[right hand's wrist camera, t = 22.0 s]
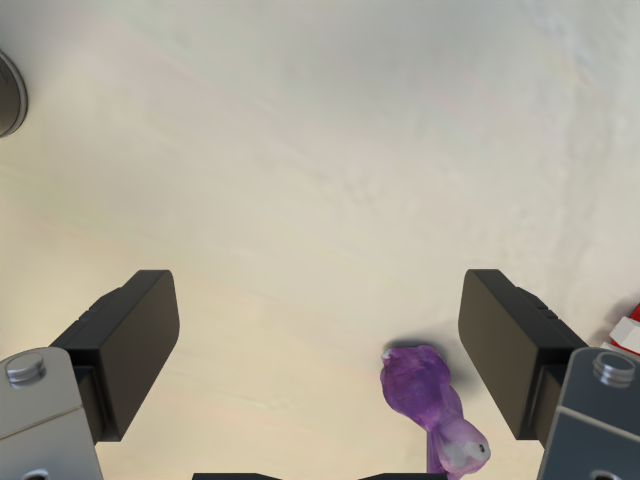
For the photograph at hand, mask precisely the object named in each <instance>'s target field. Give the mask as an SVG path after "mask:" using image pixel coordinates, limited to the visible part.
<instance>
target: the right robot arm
mask: <svg viewBox="0 0 640 480" xmlns="http://www.w3.org/2000/svg"><path fill="white" fill-rule="evenodd" d="M26 107H27V97H26V91H25V87H24V84H23V81H22V79H21V76H20V74H19V73H18V71H17V69H16V68H15V66H14V65H13V63H12V62H11V61H10V60H9V59H8V57H7V56H6V55H5V54H4V53H2V52H1V51H0V138H2V137H5V136H8V135H9V134H11V133H13V132H14V131H15V130H16V129H17V128H18V127H19V126H20V124H21V123H22V121H23V119H24V116H25V113H26ZM179 328H180V322H179V314H178V307H177V300H176V293H175V287H174V280H173V276H172V273H171V272H170V271H169V270H139V271H138V272H137V273H136V274H135V275H134V276H133V277H132V278H131V279H130V280H129V281H128V282H127V283H126V284H125V285H124V286H123V287H121V288H117V289H115V290H113V291H111V292H109V293H107V294H106V295H104V296H102V297H100V298H99V299H98V300H97V301H96V302H95V303H94V304H93V305H92V306H91V307H90V308H89V311H85V312H84V313H83V314H82V315H81V316H80V317H79V320H76V321H75V322H74V323H73V324H72V325H71V326H70V327H69V328H67V329H66V330H65V331H64V332H63V333H62V334H61V335H60V336H59V337H58V338H57V339H56V340H55V341H54V342H53V343H52V344H51V345H49V346H48V347H42V348H35V349H31V350H27V351H23V352H21V353H18V354H15V355H13V356H10V357H8V358H6V359H4V360H2V361H1V362H0V480H103V476H102V472H101V469H100V465H99V461H98V458H97V454H96V450H95V445H96V443H97V442H120V441H121V440H122V438H123V436H124V434H125V433H126V431H127V429H128V427H129V426H130V424H131V422H132V420H133V419H134V417H135V415H136V413H137V412H138V410H139V408H140V406H141V404H142V403H143V401H144V399H145V397H146V396H147V394H148V392H149V390H150V389H151V387H152V385H153V383H154V382H155V380H156V378H157V376H158V375H159V373H160V371H161V369H162V367H163V366H164V364H165V362H166V360H167V359H168V357H169V355H170V353H171V352H172V350H173V348H174V346H175V345H176V342H177V340H178V336H179ZM458 329H459V336H460V339H461V342H462V344H463V346H464V348H465V349H466V351H467V353H468V355H469V357H470V358H471V360H472V362H473V364H474V366H475V367H476V369H477V371H478V373H479V374H480V376H481V378H482V380H483V382H484V383H485V385H486V387H487V389H488V391H489V392H490V394H491V396H492V398H493V399H494V401H495V403H496V405H497V407H498V408H499V410H500V412H501V414H502V415H503V417H504V419H505V421H506V423H507V424H508V426H509V428H510V430H511V432H512V433H513V435H514V437H515V439H516V440H539V441H540V443H541V444H542V446H543V448H544V449H545V450H544V454H543V458H542V461H541V465H540V469H539V472H538V476H537V480H640V362H639V361H638V360H636V359H634V358H632V357H630V356H627V355H625V354H622V353H619V352H617V351H613V350H609V349H605V348H598V347H589V346H588V345H587V344H586V343H585V342H584V341H583V340H582V339H581V338H580V337H579V336H578V335H577V334H575V333H574V332H573V331H572V330H571V329H570V328H569V327H568V326H567V325H566V324H565V323H564V322H563V321H562V320H561V319H558V316H557V315H556V314H555V313H553V312H552V311H551V310H548V307H547V306H546V305H545V304H544V303H543V302H542V301H541V300H540V299H539V298H538V297H537V296H535V295H533V294H531V293H529V292H527V291H526V290H524V289H522V288H520V287H515V286H514V285H513V284H512V283H511V282H510V281H509V280H508V279H507V277H506V276H505V275H504V274H503V273H502V272H501V271H499V270H498V269H469V270H468V271H467V272H466V274H465V278H464V284H463V291H462V299H461V306H460V313H459V320H458ZM192 480H281V479H277V478H273V477H269V476H265V475H261V474H257V473H194V475H193V478H192ZM359 480H448V478H447V475H446V473H383V474H379V475H375V476H371V477H367V478H363V479H359Z"/></svg>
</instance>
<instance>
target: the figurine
mask: <svg viewBox="0 0 640 480" xmlns="http://www.w3.org/2000/svg"><path fill="white" fill-rule="evenodd" d="M381 358H382V361H383V363H384V366H385V368H384V370H383V371H382V373H381V375H380V380H381V383H382V388H383V395H384V397H385V400H386V402H387V403H388V405H389V406H390V407H391V408H392V409H393V410H395V411H396V412H398V413H400V414H403V415H405V416H407V417H409V418H410V419H412V420H413V421H414V422H415V423H417V424H418V425H419V426H420V427H422V428H423V429H424V430H425V431H427V473H446V475H447V478H448V480H459V479H460V478H461V477H462V476H464V475H465V474H472V473H476V472H477V471H478V470H479V469H481V468H482V467H483V466H484V465H485V463H486V462H487V461H488V460H489V459H490V456H491V452H490V449H489V445H488V442H487V439H486V438H485V436H484V435H483V434H482V433H481V432H479V431H478V430H477V429H476V428H475V427H474V426H473V425H472V424H471V423H470V422H468V421H467V420H465V419H464V417H463V409H462V404H461V400H460V398H459V396H458V394H457V392H456V391H455V390H454V389H453V388H452V387H451V386H450V385H449V383H450V380H451V374H450V371H449V369H448V365H447V363H446V362H445V360H444V359H443V357H442V356H441V355H440V354H439V352H437V350H436V349H435V348H433V347H432V346H430V345H427V344H425V345H419V346H414V347H402V348H391V349H389V350H387V351H385V352H384V353H383V354H382V356H381Z"/></svg>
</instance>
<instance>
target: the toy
mask: <svg viewBox="0 0 640 480" xmlns="http://www.w3.org/2000/svg"><path fill="white" fill-rule="evenodd" d="M610 336H611V337H612V338H613V339H614V340H613V341H612V343H611V344H608V343H606V342H604V343H603V344H602V345H601V347H600V348H605V349H609V350H613V351H617V352H619V353H622V354H625V355H627V356H630V357H632V358H634V359H636V360H638V361H639V362H640V304H639V305H638V307H637V308H636V310H635V311H634V312H633V314H632V315H631V316H630V318H628V317H625V316H623V318H622V319H621V320H620V322H619V323H618V324H617V325H616V327H615V328H614V329H613V331H612V332H611V333H610Z"/></svg>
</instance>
